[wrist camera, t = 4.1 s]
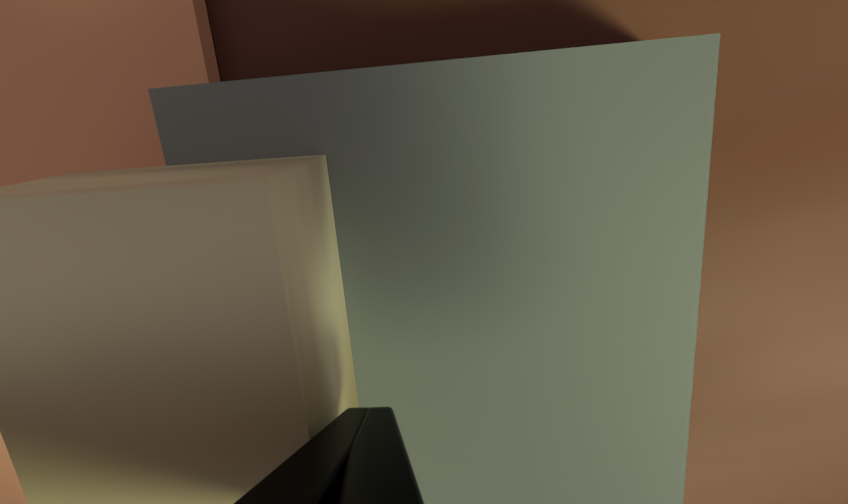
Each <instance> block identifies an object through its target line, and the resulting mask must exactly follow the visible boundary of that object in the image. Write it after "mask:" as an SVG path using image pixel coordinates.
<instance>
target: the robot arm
mask: <svg viewBox="0 0 848 504" xmlns="http://www.w3.org/2000/svg"><path fill="white" fill-rule="evenodd" d="M234 504H424V501H423V498H422V495H421V492H420V489H419V486H418V483H417V480H416V477H415V474H414V471H413V468H412V465H411V462H410V459H409V456H408V453H407V450H406V447H405V444H404V441H403V438H402V435H401V432H400V429H399V426H398V423H397V420H396V417H395V414H394V411H393V409H392V408H391V407H371V408H370V407H354V408H348V409H346V410H345V411H344V412H342V413H341V414H340V415H339V416H338V417H336V418H335V419H334V420H333V421H332V422H330V423H329V424H328V425H327V426H326V427H325V428H323V429H322V430H321V431H320V432H319V433H317V434H316V435H315V436H314V437H313V438H311V439H310V440H309V441H308V442H307V443H305V444H304V445H303V446H302V447H301V448H299V449H298V450H297V451H296V452H295V453H293V454H292V455H291V456H290V457H289V458H287V459H286V460H285V461H284V462H283V463H281V464H280V465H279V466H278V467H277V468H275V469H274V470H273V471H272V472H271V473H269V474H268V475H267V476H266V477H265V478H264V479H262V480H261V481H260V482H259V483H258V484H256V485H255V486H254V487H253V488H252V489H250V490H249V491H248V492H247V493H246V494H244V495H243V496H242V497H241V498H240V499H238V500H237V501H236V502H235V503H234Z"/></svg>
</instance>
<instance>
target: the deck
mask: <svg viewBox="0 0 848 504" xmlns="http://www.w3.org/2000/svg"><path fill="white" fill-rule="evenodd" d="M719 44H720V33H717V34H707V35H697V36H687V37H676V38H666V39H656V40H645V41H635V42H625V43H615V44H604V45H594V46H584V47H574V48H563V49H553V50H543V51H532V52H522V53H512V54H502V55H491V56H481V57H471V58H460V59H450V60H440V61H430V62H419V63H409V64H399V65H389V66H378V67H368V68H358V69H347V70H337V71H327V72H317V73H306V74H296V75H286V76H276V77H265V78H255V79H245V80H234V81H224V82H214V83H204V84H193V85H183V86H173V87H163V88H152V89H148V91H149V95H150V99H151V104H152V108H153V112H154V116H155V121H156V125H157V129H158V133H159V138H160V142H161V146H162V150H163V155H164V159H165V163H166V166H169V165H183V164H197V163H212V162H226V161H240V160H254V159H268V158H282V157H296V156H310V155H324V154H326V161H327V168H328V176H329V183H330V191H331V198H332V206H333V214H334V221H335V229H336V236H337V244H338V251H339V259H340V267H341V274H342V282H343V289H344V297H345V305H346V312H347V320H348V327H349V335H350V342H351V350H352V358H353V365H354V373H355V380H356V388H357V395H358V403H359V407H370V408H371V407H391V408H392V409H393V411H394V414H395V417H396V420H397V423H398V426H399V429H400V432H401V435H402V438H403V441H404V444H405V447H406V450H407V453H408V456H409V459H410V462H411V465H412V468H413V471H414V474H415V477H416V480H417V483H418V486H419V489H420V492H421V495H422V498H423V501H424V504H683V499H684V486H685V473H686V461H687V448H688V435H689V423H690V410H691V397H692V385H693V372H694V360H695V347H696V334H697V322H698V309H699V296H700V284H701V271H702V259H703V246H704V233H705V221H706V208H707V195H708V183H709V170H710V158H711V145H712V132H713V120H714V107H715V94H716V82H717V69H718V56H719Z"/></svg>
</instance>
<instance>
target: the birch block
mask: <svg viewBox="0 0 848 504" xmlns="http://www.w3.org/2000/svg"><path fill="white" fill-rule="evenodd" d="M354 407H359V403H358V395H357V388H356V380H355V373H354V365H353V358H352V350H351V342H350V335H349V327H348V320H347V312H346V305H345V297H344V289H343V282H342V274H341V267H340V259H339V251H338V244H337V236H336V229H335V221H334V214H333V206H332V198H331V191H330V183H329V176H328V168H327V161H326V154H324V155H310V156H296V157H282V158H268V159H254V160H240V161H226V162H212V163H197V164H183V165H169V166H155V167H141V168H127V169H113V170H99V171H84V172H73V173H68V174H63V175H58V176H53V177H48V178H43V179H38V180H33V181H28V182H23V183H18V184H13V185H8V186H3V187H0V432H1V435H2V437H3V440H4V442H5V445H6V448H7V450H8V453H9V456H10V458H11V461H12V463H13V466H14V469H15V471H16V474H17V477H18V479H19V482H20V484H21V487H22V490H23V492H24V495H25V498H26V500H27V503H28V504H234V503H235V502H236V501H237V500H238V499H240V498H241V497H242V496H243V495H244V494H246V493H247V492H248V491H249V490H250V489H252V488H253V487H254V486H255V485H256V484H258V483H259V482H260V481H261V480H262V479H264V478H265V477H266V476H267V475H268V474H269V473H271V472H272V471H273V470H274V469H275V468H277V467H278V466H279V465H280V464H281V463H283V462H284V461H285V460H286V459H287V458H289V457H290V456H291V455H292V454H293V453H295V452H296V451H297V450H298V449H299V448H301V447H302V446H303V445H304V444H305V443H307V442H308V441H309V440H310V439H311V438H313V437H314V436H315V435H316V434H317V433H319V432H320V431H321V430H322V429H323V428H325V427H326V426H327V425H328V424H329V423H330V422H332V421H333V420H334V419H335V418H336V417H338V416H339V415H340V414H341V413H342V412H344V411H345V410H346V409H348V408H354Z"/></svg>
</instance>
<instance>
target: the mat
mask: <svg viewBox="0 0 848 504" xmlns="http://www.w3.org/2000/svg"><path fill="white" fill-rule="evenodd" d="M214 82H221V81H220V76H219V71H218V66H217V61H216V56H215V51H214V45H213V40H212V35H211V30H210V25H209V20H208V14H207V9H206V4H205V0H0V187H3V186H8V185H13V184H18V183H23V182H28V181H33V180H38V179H43V178H48V177H53V176H58V175H63V174H68V173H73V172H84V171H99V170H113V169H127V168H141V167H155V166H166V163H165V159H164V155H163V150H162V146H161V142H160V138H159V133H158V129H157V125H156V121H155V116H154V112H153V108H152V104H151V99H150V95H149V91H148V89H152V88H163V87H173V86H183V85H193V84H204V83H214ZM0 504H28V503H27V500H26V498H25V495H24V492H23V490H22V487H21V484H20V482H19V479H18V477H17V474H16V471H15V469H14V466H13V463H12V461H11V458H10V456H9V453H8V450H7V448H6V445H5V442H4V440H3V437H2V435H1V432H0Z"/></svg>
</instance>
